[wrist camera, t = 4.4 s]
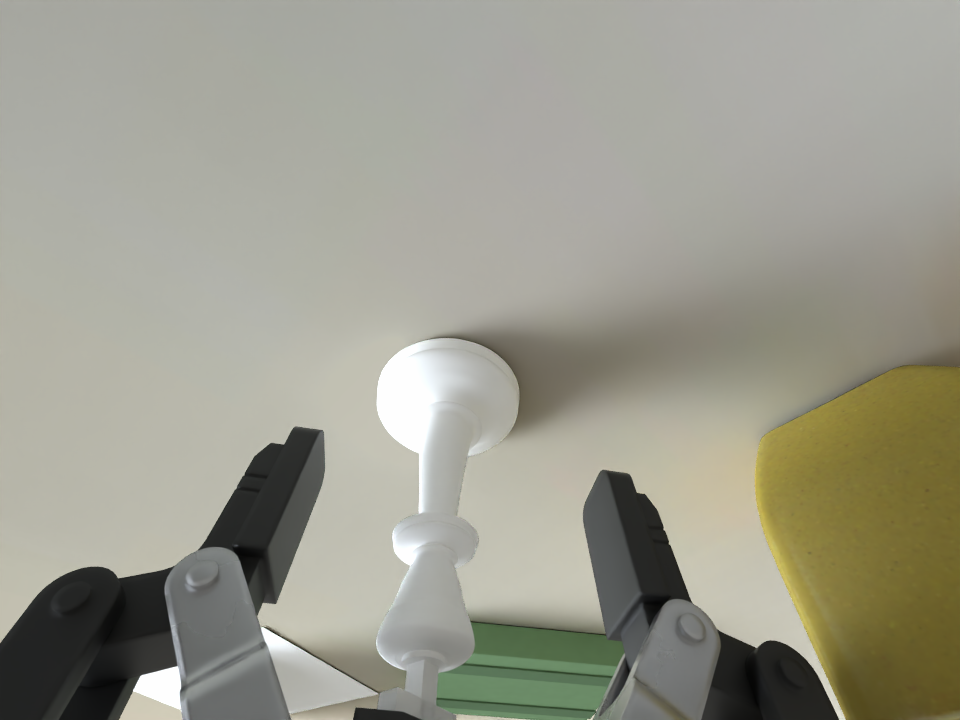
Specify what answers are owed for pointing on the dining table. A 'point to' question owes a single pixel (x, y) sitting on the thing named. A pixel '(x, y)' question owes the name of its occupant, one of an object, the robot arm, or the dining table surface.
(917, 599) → the flower pot
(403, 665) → the chess piece
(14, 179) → the dining table surface
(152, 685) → the napkin holder
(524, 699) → the green flat rectangular block
